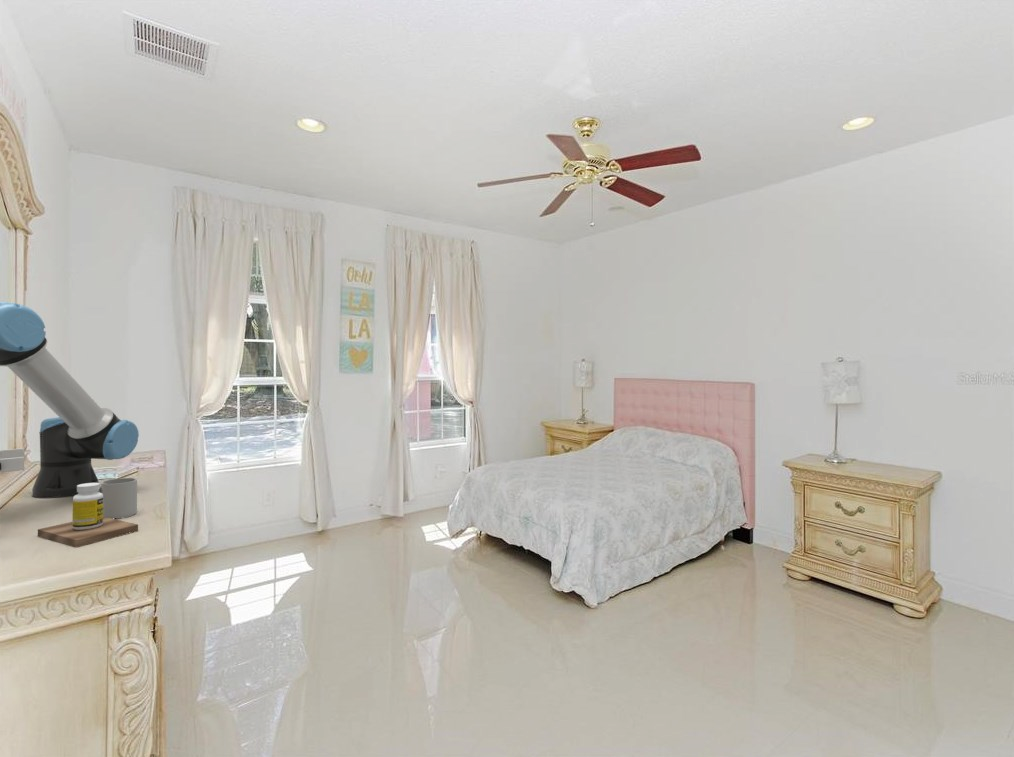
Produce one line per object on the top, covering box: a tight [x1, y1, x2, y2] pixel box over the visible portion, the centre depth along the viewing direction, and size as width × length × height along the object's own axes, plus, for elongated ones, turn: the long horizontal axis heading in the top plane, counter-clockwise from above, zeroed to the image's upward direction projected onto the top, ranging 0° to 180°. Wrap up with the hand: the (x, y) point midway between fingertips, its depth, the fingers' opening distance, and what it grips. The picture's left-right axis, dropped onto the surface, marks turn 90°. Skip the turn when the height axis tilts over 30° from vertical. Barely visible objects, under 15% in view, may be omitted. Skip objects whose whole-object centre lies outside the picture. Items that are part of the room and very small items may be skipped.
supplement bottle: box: [71, 483, 103, 530], centre depth 115 cm, size 5×5×10 cm
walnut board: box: [37, 517, 139, 548], centre depth 115 cm, size 16×12×2 cm
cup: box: [101, 477, 138, 519], centre depth 130 cm, size 7×10×9 cm
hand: (24, 458), depth 110 cm, fingers open, 13 cm apart
